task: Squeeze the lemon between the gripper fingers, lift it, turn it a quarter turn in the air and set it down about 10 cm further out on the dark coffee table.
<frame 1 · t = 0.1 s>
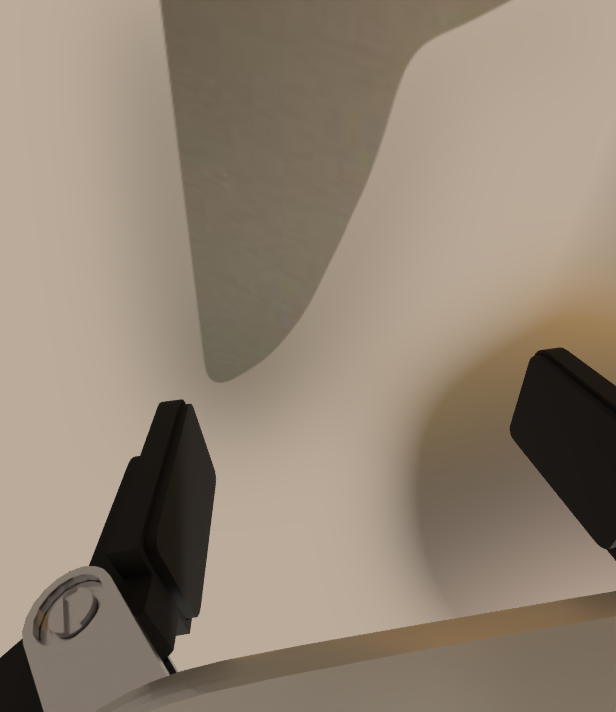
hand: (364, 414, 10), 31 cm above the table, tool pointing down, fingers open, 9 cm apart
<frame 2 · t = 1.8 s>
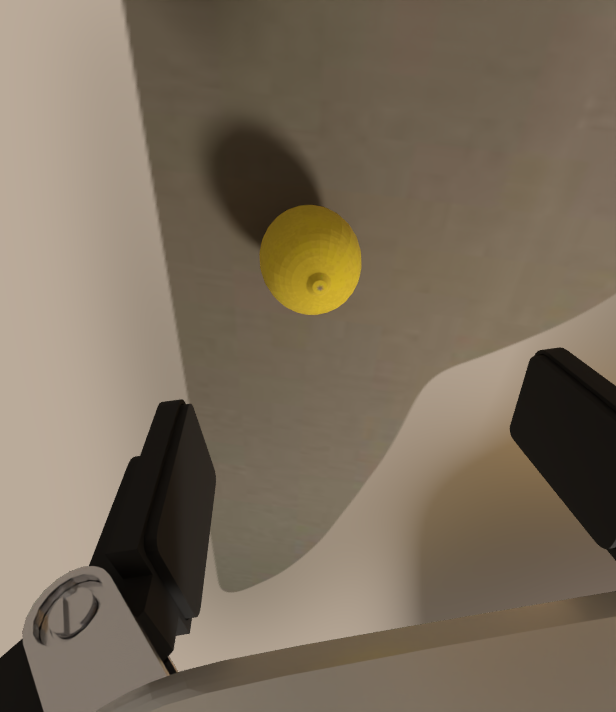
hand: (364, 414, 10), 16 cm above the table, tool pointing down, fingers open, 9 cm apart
lemon: (302, 238, 24), on the table
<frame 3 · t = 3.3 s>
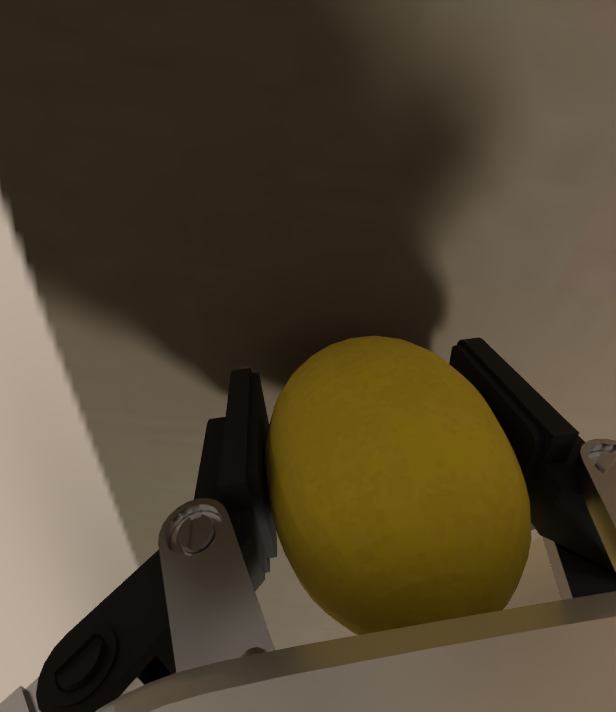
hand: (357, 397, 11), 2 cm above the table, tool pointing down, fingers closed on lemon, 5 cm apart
lemon: (346, 364, 12), on the table, touching gripper
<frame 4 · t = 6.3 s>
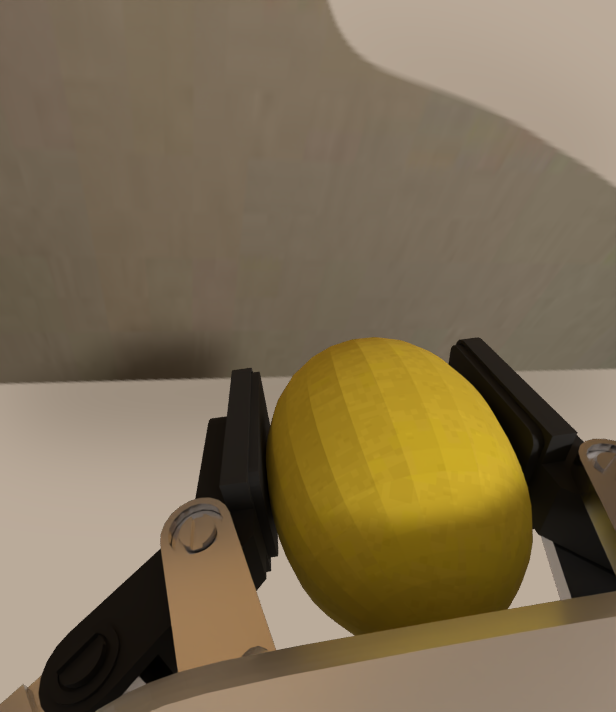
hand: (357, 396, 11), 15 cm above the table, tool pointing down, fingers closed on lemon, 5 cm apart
lemon: (346, 365, 12), point 13 cm above the table, touching gripper
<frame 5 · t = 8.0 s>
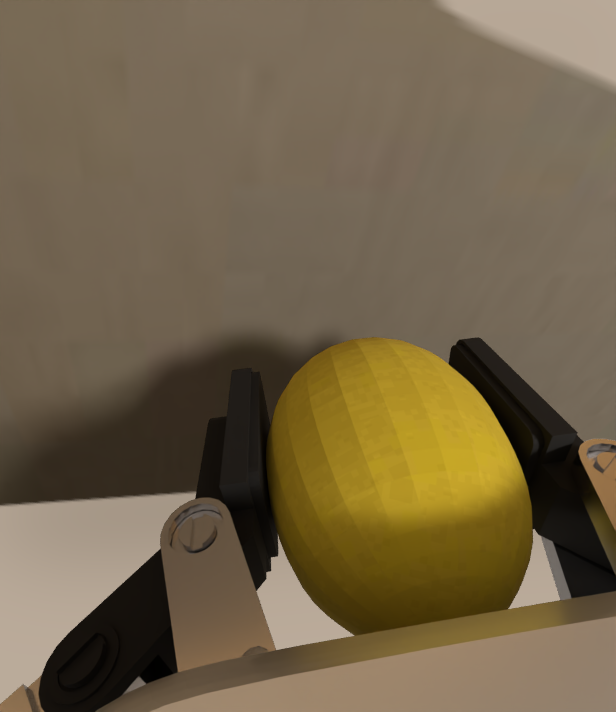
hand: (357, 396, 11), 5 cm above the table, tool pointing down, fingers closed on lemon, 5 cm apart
lemon: (346, 365, 12), point 3 cm above the table, touching gripper
when the fingers open (3 cm above the table, at t = 8.9 s): lemon drops 1 cm, on the table.
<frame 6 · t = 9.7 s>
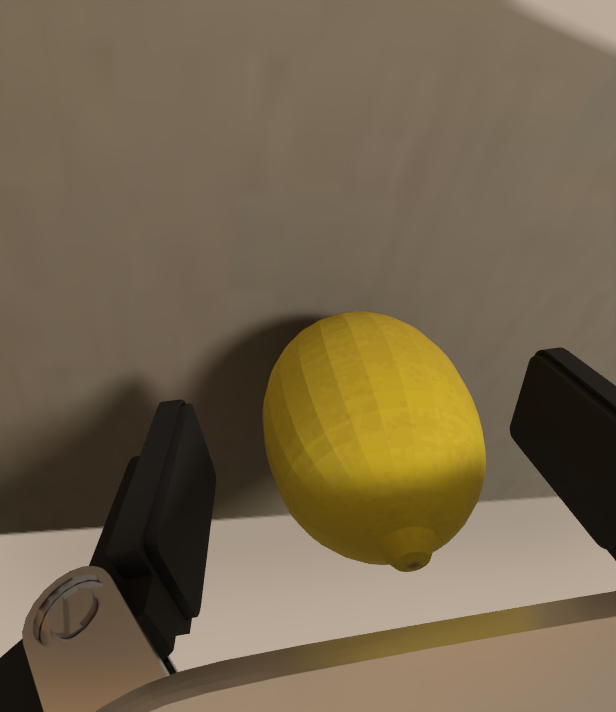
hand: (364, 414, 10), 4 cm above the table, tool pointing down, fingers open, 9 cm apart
lemon: (337, 343, 14), on the table
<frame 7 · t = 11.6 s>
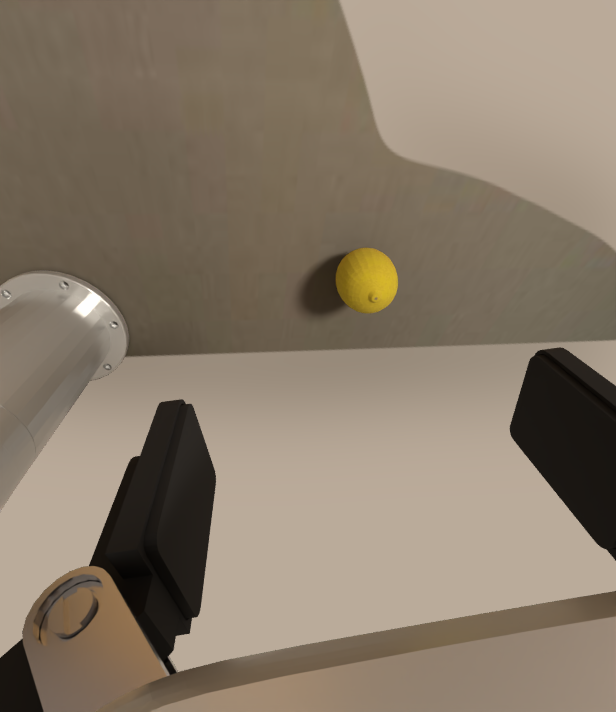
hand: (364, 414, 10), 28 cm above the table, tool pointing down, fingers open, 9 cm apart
lemon: (357, 264, 37), on the table
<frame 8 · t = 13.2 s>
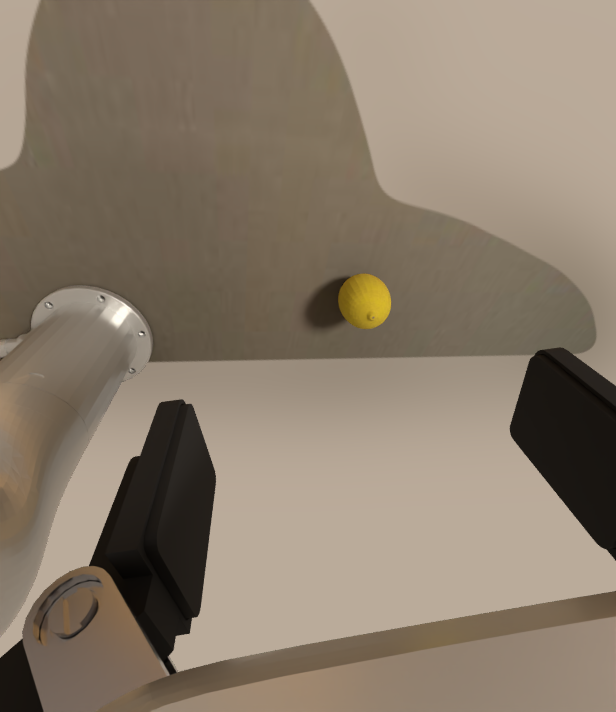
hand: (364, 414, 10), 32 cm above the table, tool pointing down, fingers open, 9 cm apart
lemon: (355, 286, 43), on the table
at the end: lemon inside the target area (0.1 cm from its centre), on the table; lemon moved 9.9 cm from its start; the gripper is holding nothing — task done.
